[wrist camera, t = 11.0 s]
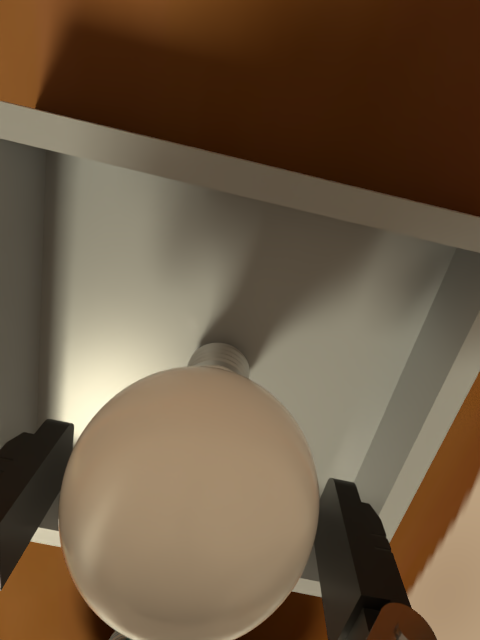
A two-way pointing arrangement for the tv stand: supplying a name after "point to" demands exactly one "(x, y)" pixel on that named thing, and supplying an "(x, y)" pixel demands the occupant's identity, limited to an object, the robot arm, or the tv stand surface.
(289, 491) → the lightbulb
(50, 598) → the tv stand surface
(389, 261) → the tray
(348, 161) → the tv stand surface
